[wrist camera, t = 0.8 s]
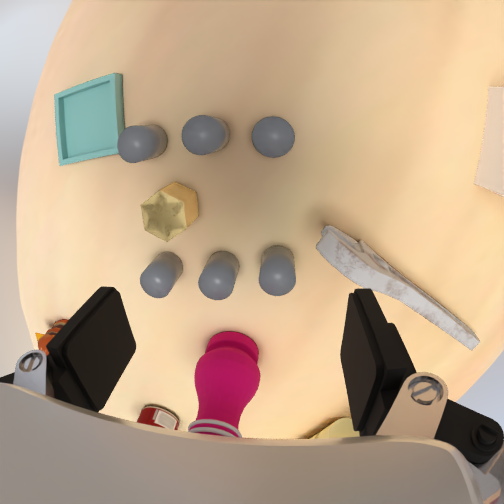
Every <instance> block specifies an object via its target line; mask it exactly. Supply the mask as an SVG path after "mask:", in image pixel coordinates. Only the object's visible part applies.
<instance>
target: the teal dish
mask: <svg viewBox="0 0 504 504" xmlns="http://www.w3.org/2000/svg"><path fill="white" fill-rule="evenodd" d="M54 96H55V122H56V136H57V146H58V156H59V164H60V166H62V165H66V164H70V163H74V162H79V161H83V160H88V159H92V158H97V157H102V156H107V155H113V154H118V153H119V152H118V149H117V142H118V138H119V136H120V134H121V132H122V131H123V130H124V129H125V123H124V108H123V85H122V75H121V74H118V73H112V74H109V75H106V76H103V77H100V78H97V79H94V80H91V81H88V82H85V83H83V84H80V85H77V86H75V87H72V88H70V89H67V90H65V91H62V92H60V93H57V94H55V95H54Z"/></svg>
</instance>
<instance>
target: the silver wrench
mask: <svg viewBox="0 0 504 504" xmlns="http://www.w3.org/2000/svg"><path fill="white" fill-rule="evenodd" d="M321 233H322V236H323V237H322V238H321V239H320V241H319V242H318V243H317V245H316V249H317V250H318V251H319V252H320V254H321V255H322V256H323V257H324V258H325V259H326V260H327V261H328V262H329V263H330V264H331V265H332V266H334V267H335V268H336V269H337V270H338V271H340V272H341V273H342V274H343V275H344V276H346V277H347V278H349V279H350V280H352V281H353V282H355V283H356V284H358V285H359V286H361V287H363V288H371V290H373V291H377V292H380V293H383V294H386V295H388V296H390V297H393V298H395V299H397V300H399V301H401V302H402V303H404V304H405V305H407V306H408V307H410V308H411V309H413V310H414V311H416V312H417V313H419V314H420V315H422V316H423V317H425V318H426V319H428V320H429V321H430V322H432V323H433V324H435V325H436V326H438V327H439V328H441V329H442V330H443V331H445V332H446V333H448V334H449V335H451V336H452V337H453V338H455V339H456V340H458V341H459V342H460V343H462V344H463V345H465V346H466V347H467V348H469V349H470V350H473V349H474V348H475V347H476V346H477V345H478V344H479V343H480V340H479V339H478V337H477V336H476V335H475V333H474V332H473V331H472V330H471V329H470V328H469V327H467V326H466V325H465V324H464V323H463V322H461V321H460V320H459V319H458V318H457V317H455V316H454V315H453V314H452V313H450V312H449V311H448V310H447V309H445V308H444V307H443V306H442V305H440V304H439V303H438V302H437V301H435V300H434V299H433V298H432V297H430V296H429V295H428V294H426V293H425V292H424V291H422V290H421V289H420V288H419V287H417V286H416V285H415V284H413V283H412V282H411V281H409V280H408V279H407V278H405V277H404V276H403V275H401V274H400V273H399V272H398V271H396V270H395V269H394V268H393V267H392V266H390V265H389V264H388V263H387V262H386V261H385V260H383V259H382V258H381V257H380V256H379V255H378V254H376V253H375V252H374V251H373V250H372V249H371V248H370V247H369V246H368V245H367V244H365V243H364V242H363V241H362V240H360V241H359V242H357V241H356V240H354V239H353V238H351V237H350V236H348V235H347V234H345V233H344V232H342V231H340V230H338V229H337V228H335V227H333V226H331V225H328V226H325V228H324V229H323V230H322V232H321Z"/></svg>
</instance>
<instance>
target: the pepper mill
mask: <svg viewBox="0 0 504 504" xmlns="http://www.w3.org/2000/svg"><path fill="white" fill-rule="evenodd" d="M258 354H259V353H258V348H257V345H256V344H255V342H254V341H253V340H252V339H250V338H249V337H248V336H246V335H244V334H241V333H238V332H230V331H227V332H221V333H219V334H216V335H215V336H213V337H212V338H211V339H210V341H209V343H208V345H207V349H206V352H205V354H204V355H203V356H202V357H201V358H200V359H199V361H198V362H197V365H196V370H195V387H196V391H197V396H198V401H199V410H198V415H197V418H196V421H194V422H192V423H191V424H190V425H189V427H188V430H189V431H188V432H192V433H199V434H208V435H217V436H227V437H240V438H242V435H241V433H240V432H239V430H238V424H239V420H240V416H241V414H242V412H243V410H244V408H245V406H246V405H247V404H248V403H249V402H250V400H251V399H252V398H253V396H254V395H255V393H256V391H257V389H258V386H259V382H260V371H259V368H258V366H257V362H258Z"/></svg>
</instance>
